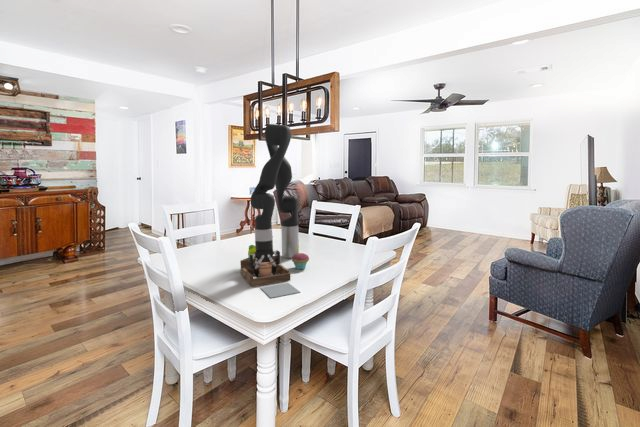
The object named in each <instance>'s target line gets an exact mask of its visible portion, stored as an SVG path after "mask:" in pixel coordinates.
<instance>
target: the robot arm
mask: <svg viewBox="0 0 640 427" xmlns="http://www.w3.org/2000/svg"><path fill="white" fill-rule="evenodd" d="M264 139H265V143H266V147H267V151H268V153H269V159H268V161H267V162H266V163H265V164H264V166H263V168H262V170H261V173H260V177H259V181H258V183H257V185H256V186H255V187H254V190H253V192H252V193H251V197H250V205H251V207H252V208H253V209H255V210H262V212H261V214H257V215H256V216H255V217H254V228H255V229H254V230H255V231H254V246H255V249H256V252H255V254H249V255H248V254H247V255H248V257H247V258H249V267H250V268H253V269H254V274H253V275H254V276H253V277H255V278H258V269H257V268H258V266H259V265H260V263H261V262H265V261H266V262H268V261H270V263H272V275H276V273H277V272H276V265H278V264H280V265H281V257H282V258H285V259H291V257H292V256H293V255H295V254H298V253H297V247H296V243H297V245H298V251H299V252H300V250H299V249H300V247H299V246H300V245H299V244H300V243H299V242H300V240H299V235H300V234H299V197H298V196H297V195H284V194H285V191H286V189H288V187H289V185H290V183H291V182H292V179H293V174H292V173H293V172H292V166H291V164H290V162H289V160H288V159H287V158H286V156H285V155H286V153H287V150H288V148H289V145H290V142H291V140H292V130H291V128H290V127H289V125H284V124H273V123H269V124H266V126H265V128H264ZM274 189H275V192H276V200H277V209H278V211H279V212H280V213H282V214H291V215H290V216H289V217H287V218H284V219H282V220H281V222H280V223H281V224H280V227H281V231H280V232H281V251H280V250H278V249H277V250H274V244H273V243H274V240H273V238H274V236H273V230H272V228H273V227H272V226H273V225H272V224H273V223H272V219H273V218H272V217H273V215H274V210H275V205H276V203H275V202H276V200H275V196H274V195H273V194H272V193H269V192H268V191H271V190H274ZM267 192H268V193H267ZM272 256H276V260H275V262H274V260H273V259H272ZM254 257H256V258H257V259H256V261H255V264H254V265H253V259H254Z"/></svg>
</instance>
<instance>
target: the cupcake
mask: <svg viewBox="0 0 640 427" xmlns="http://www.w3.org/2000/svg"><path fill="white" fill-rule="evenodd" d="M296 247H297V253H298V254H295V255H293V256H292V257H291V258H290V259H291V261H292V263H293V264H294V267H295V269H297V270H304V269H306V267H307V263H308V262H309V260H310V256H309V255H308V254H306V253H301V252H300V250H299V251H298V245H297V243H296Z"/></svg>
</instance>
